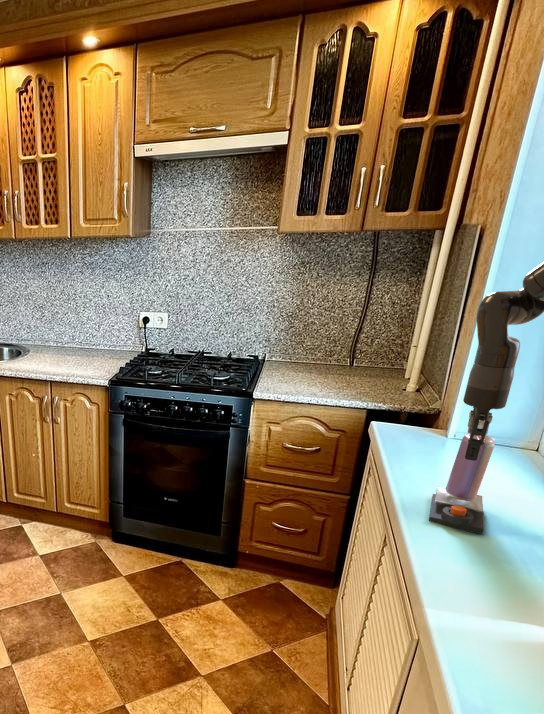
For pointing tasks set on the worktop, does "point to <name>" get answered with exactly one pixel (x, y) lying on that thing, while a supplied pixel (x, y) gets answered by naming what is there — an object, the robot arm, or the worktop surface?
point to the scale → (456, 518)
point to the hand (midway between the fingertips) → (470, 454)
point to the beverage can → (469, 469)
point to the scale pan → (458, 501)
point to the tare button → (458, 511)
